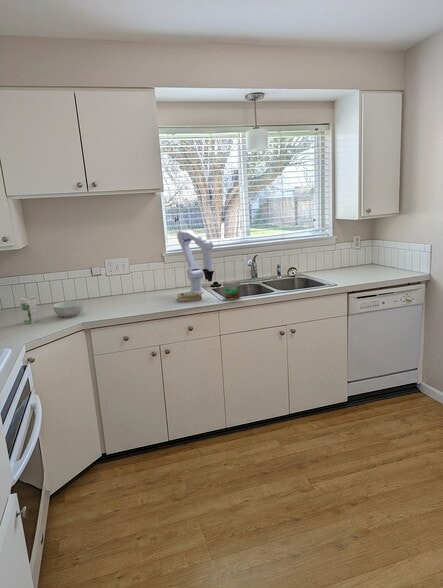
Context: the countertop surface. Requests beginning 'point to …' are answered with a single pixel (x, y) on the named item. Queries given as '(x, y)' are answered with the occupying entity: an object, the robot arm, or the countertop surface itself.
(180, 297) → the box
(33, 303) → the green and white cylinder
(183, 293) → the sage crate
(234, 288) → the food container
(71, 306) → the cereal bowl
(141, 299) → the countertop surface
